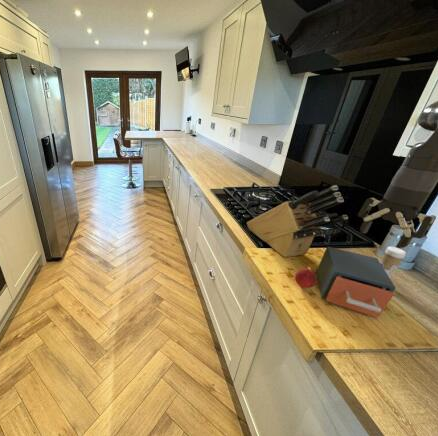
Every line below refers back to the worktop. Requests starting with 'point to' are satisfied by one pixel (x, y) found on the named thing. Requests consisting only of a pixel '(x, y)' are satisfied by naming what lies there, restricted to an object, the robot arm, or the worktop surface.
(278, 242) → the knife block
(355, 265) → the cabinet
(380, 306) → the drawer
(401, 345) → the worktop surface
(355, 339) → the worktop surface
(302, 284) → the onion
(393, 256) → the sprinkles bottle
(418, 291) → the worktop surface
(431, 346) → the worktop surface
